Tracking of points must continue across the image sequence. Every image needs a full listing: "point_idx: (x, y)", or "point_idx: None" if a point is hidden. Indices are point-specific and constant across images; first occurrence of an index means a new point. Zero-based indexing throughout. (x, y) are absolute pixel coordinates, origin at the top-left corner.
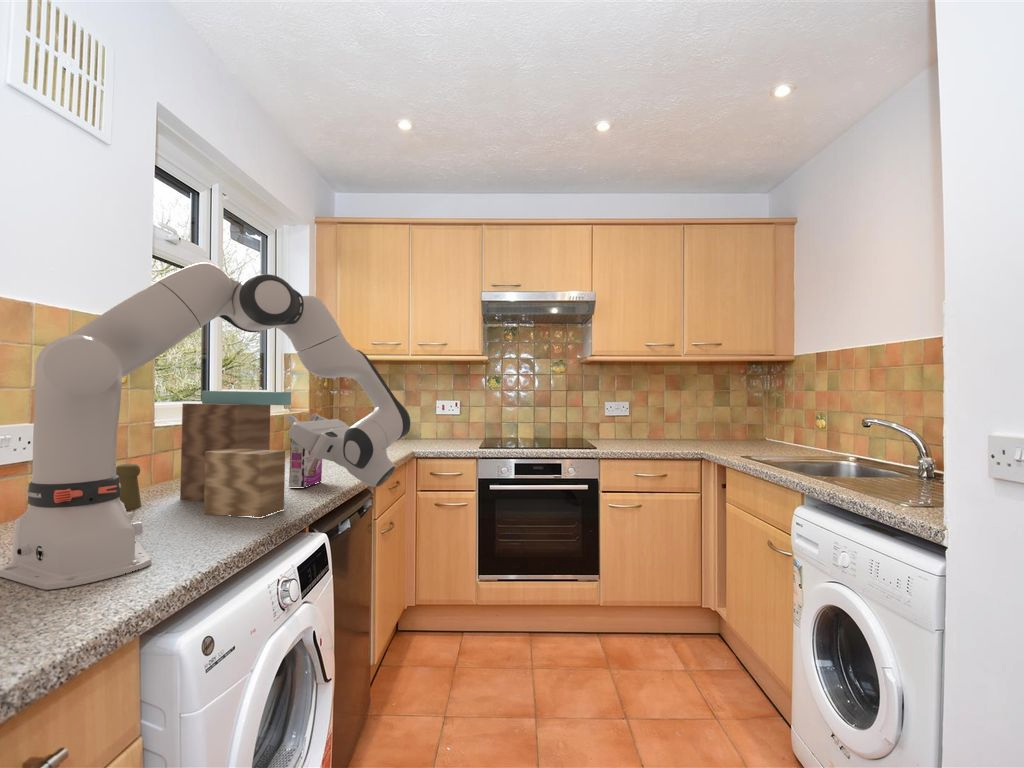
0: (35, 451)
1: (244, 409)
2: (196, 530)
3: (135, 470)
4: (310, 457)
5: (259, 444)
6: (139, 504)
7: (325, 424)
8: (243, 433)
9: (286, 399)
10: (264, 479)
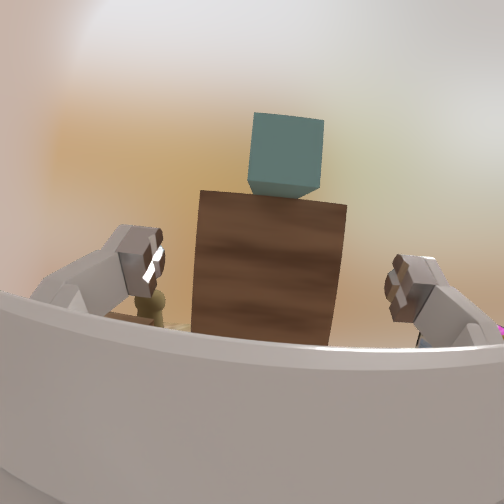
0: None
1: (225, 208)
2: None
3: (144, 303)
4: None
5: (284, 333)
6: None
7: (337, 457)
8: (217, 286)
9: (285, 152)
10: None
